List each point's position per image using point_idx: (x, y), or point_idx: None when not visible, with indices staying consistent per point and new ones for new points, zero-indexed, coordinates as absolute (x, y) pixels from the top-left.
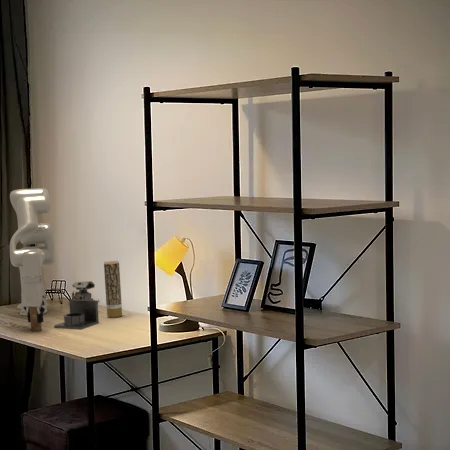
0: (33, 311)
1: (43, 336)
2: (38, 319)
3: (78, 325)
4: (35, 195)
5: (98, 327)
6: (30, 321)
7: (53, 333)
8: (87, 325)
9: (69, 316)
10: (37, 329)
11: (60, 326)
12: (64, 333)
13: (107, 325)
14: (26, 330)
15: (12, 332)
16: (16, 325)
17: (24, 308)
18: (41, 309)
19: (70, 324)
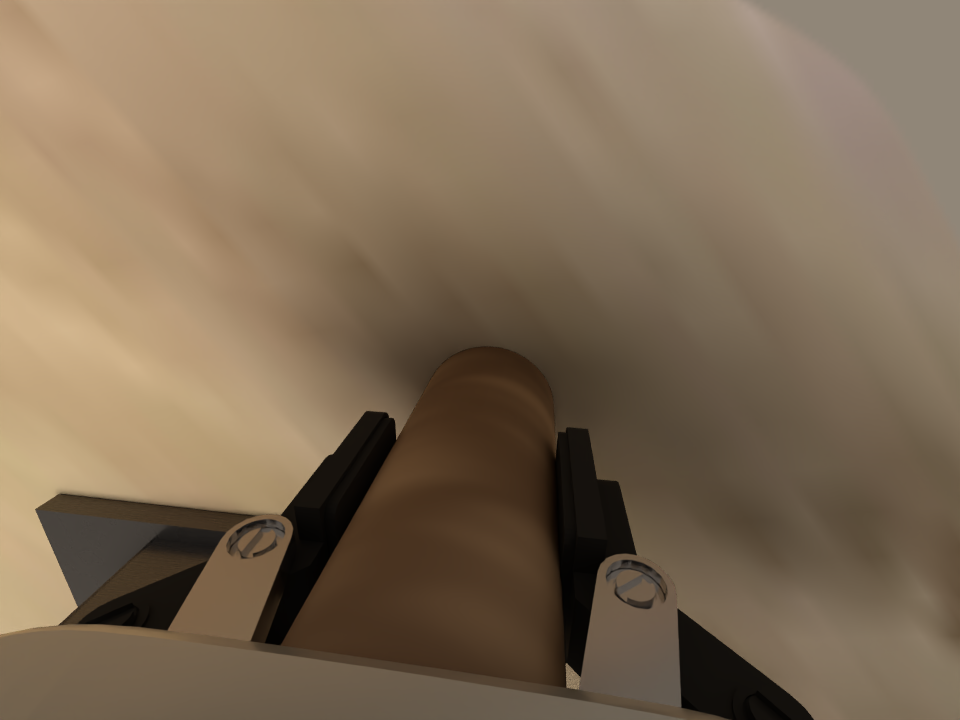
0: (371, 542)
1: (129, 108)
2: (344, 440)
3: (120, 564)
4: None
5: (5, 571)
6: (527, 425)
7: (157, 296)
8: (77, 586)
9: None
10: (433, 376)
11: None
12: (48, 322)
13: (10, 628)
14: (617, 376)
15: (774, 226)
16: (927, 587)
17: (771, 702)
18: (158, 617)
19: (156, 552)
